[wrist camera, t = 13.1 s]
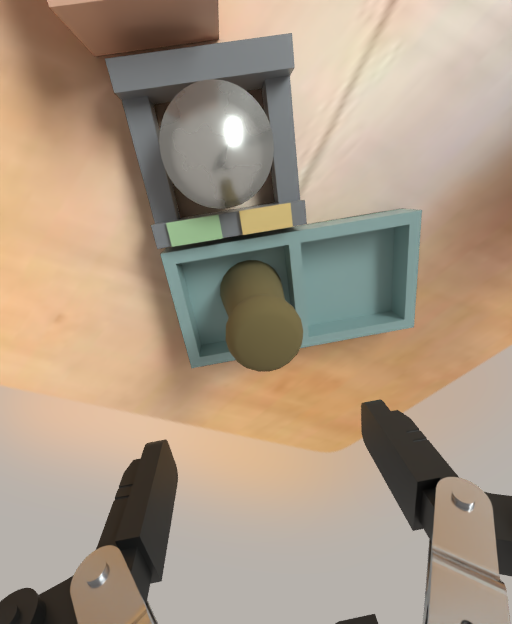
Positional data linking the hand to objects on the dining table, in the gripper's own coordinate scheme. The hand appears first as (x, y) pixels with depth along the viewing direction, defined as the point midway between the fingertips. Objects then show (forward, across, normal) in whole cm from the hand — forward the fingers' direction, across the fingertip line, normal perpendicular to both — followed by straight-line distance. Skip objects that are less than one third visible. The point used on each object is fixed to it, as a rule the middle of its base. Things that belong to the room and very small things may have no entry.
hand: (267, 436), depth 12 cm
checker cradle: (+18, 0, -12) cm, 22 cm away
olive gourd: (+18, -1, 0) cm, 18 cm away
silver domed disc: (+17, 0, -12) cm, 21 cm away
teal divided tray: (+18, -5, 0) cm, 19 cm away
